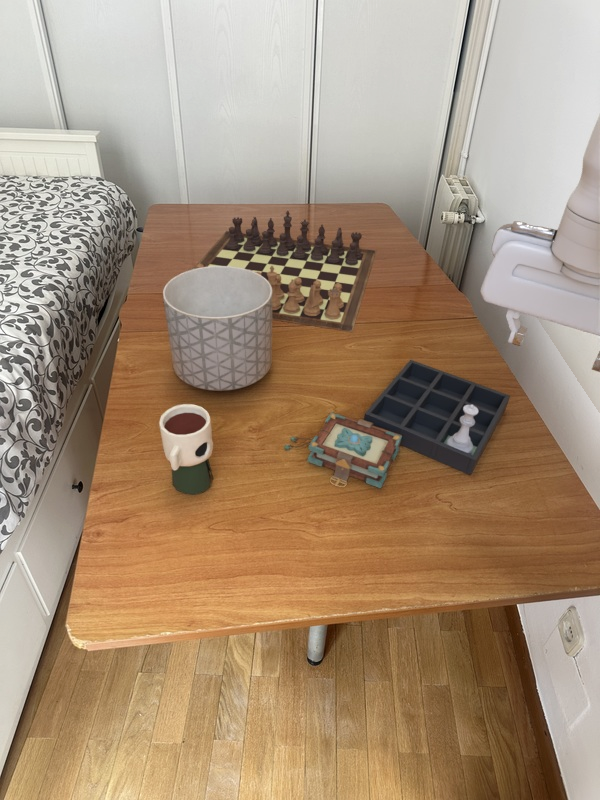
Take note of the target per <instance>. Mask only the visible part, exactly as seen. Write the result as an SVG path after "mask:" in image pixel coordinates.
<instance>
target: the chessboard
mask: <svg viewBox="0 0 600 800" xmlns="http://www.w3.org/2000/svg"><path fill="white" fill-rule="evenodd" d="M290 213H291V212H290V211H289V210H286V212H285V214H286V215H285V216H283V221H284V223H283V224H282V226H283V228H284V232H282V233H280V234H279V237H276V236H274V233H275V232H276V230H275V229H274V228H275V227H274V226H275V223H274V221H273V220H272V219H273V218H272V217H270V218H269V220H268V222H267V227H268V228H267V229H266V230H264V231H263V232H261V233H260V231H259V230H260V229H259V225H258V219H257V217H256V216H254V217H253V219H252V220H251V223H250V226H251V228H247V229H246V230H245V233H244V232H242V224H243V218H242V217H239V216H238V217H233V218H232V224H233V226H230V227H228V230H226V231H225V232H224V233H223V234H222V235H221V237H219V239H218V240H217V241H216V242H215V243H214V244H213V245H212V246H211V248H210V249H209V250H208V251H207V252H206V253H205V254H204V256H203V257H201V259H200V260H199V261H198V262H197V263H196V265H195V266H194V267H193V268H188V269H186V270H185V272H186V271H189V270H193V269H197V268H202V267H210V266H230V267H238V268H243V269H247V270H250V271H253V272H255V273H257V274H259V275H261V276H263V277H264V278H265V279H266V280H267V281H268V282H269V283H270V285H271V287H272V321H278V322H284V323H291V324H297V325H304V326H311V327H317V328H323V329H330V330H336V331H341V332H343V331H344V332H349V333H353V332H354V328H355V324H356V322H357V318H358V314H359V311H360V308H361V304H362V301H363V298H364V294H365V292H366V291H365V290H366V287H367V284H368V281H369V277H370V274H371V271H372V266H373V264H374V261H375V257H376V254H377V250H375V249H367V248H360V241H361V239H362V236H363V235H362V233H361V232H357V231H355V232H354V231H353V232H352V233H350V237H351V243H349V246H344V241H343V232H342V227H338V230H337V232H336V236H335V239H334V240H332V241H331V244H329V243H325V241H324V240H325V239H326V236H325V232H326V230H325V229H326V228H325V227H324V224H323V223H322V224H320V227H319V228H318V235H317V236H316V238H315V239H314V242H313V241H309V240H308V232H309V231H310V229H309V228H308V226H309V225H310V222H309V221H307V219H306V218H305V219H303V221H301V222H299V223H300V225H301V227H300V228H299V231H300V232H301V235H298V236H297V237H296V239H293V238H292V236H291V228H292V227H293V225H292V223H291V222H292V219H293V218H292V216H290ZM162 303H163V304H164V301H163V302H162Z"/></svg>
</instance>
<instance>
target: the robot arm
mask: <svg viewBox="0 0 600 800" xmlns="http://www.w3.org/2000/svg"><path fill="white" fill-rule="evenodd" d="M596 119H597V120H596V121H595V124H594V127H593V129H592V132H591V134H590V137H589V140H588V143H587V144H586V148H585V151H584V154H583V157H582V168H581V175H580V178H579V181H578V183H577V184H576V187H575V189H574V190H573V191H572V193H571V194H570V195H569V198H568V199H567V201H566V205H565V208H564V211H563V214H562V216H561V219H560V222H559V225H558V228H557V229H554V228H550V227H547V226H546V227H545V226H539V225H532V224H528V223H526V222H524V221H513V222H512V223H506V224H503V225H502V226H500V227H498V229H497V230H496V232H495V234H494V235H493V241H492V243H491V253H492V255H493V259H492V260H491V262H490V265H489V267H488V269H487V271H486V272H485V276H484V279H483V281H482V284H481V286H480V295H481V297H482V299H483V302H485V303H488V304H491V305H495V306H498V307H501V308H505V309H507V311H506V315H505V318H506V322H507V325H508V327H509V330H510V334H509V337H508V340H507V343H509V344H511V345H515V346H517V347H521V345H522V344H523V342H524V340H525V337H526V334H527V331H528V327H524V326H522V324H521V321H520V317H521V315H522V314H525V315H528V316H531V317H535V318H539V319H541V320H545V321H548V322H552V323H555V324H557V325H561V326H565V327H568V328H572V329H575V330H578V331H582V332H585V333H587V334H590V335H591V334H592V335H595V336H598V337H600V114H599V115H598V117H597V118H596ZM591 370H592V371H595V372H598V373H600V350H599V352H598V353H597V356H596V358H595V360H594V362H593V365H592V368H591Z"/></svg>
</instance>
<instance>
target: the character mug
mask: <svg viewBox="0 0 600 800" xmlns="http://www.w3.org/2000/svg"><path fill="white" fill-rule="evenodd" d="M158 424H159V425H158V426H159V431H160V437H161V443H162V448H163V452H164V455H165V458H166V460H167V461H168V462H170V467H171V480H172V481H171V483H172V487H174V488H175V490H176V491H178V492H179V493H183V494H186V495H194V496H195V495H198V494H202V493H204V492H205V491H207V490H208V489H209V488H210V487H211V480H212V481H213V480H214V475H213V471H212V465H211V463H210V458H211V456H212V453H213V449H214V441H213V438H212V436H213V435H212V429H213V427H212V420H211V416H210V414H209V411H207V410H206V409H205V408H203V407H202V406H200V405H196V404H194V403H193V404H191V403H183V404H182V403H181V404H177V405H174V406H172V407H170V408H168V409H167V410H165V411H164V412H163V413H162V414H161V416H160V418H159V422H158ZM210 476H211V477H210ZM210 478H211V480H210Z"/></svg>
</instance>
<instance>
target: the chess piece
mask: <svg viewBox="0 0 600 800" xmlns="http://www.w3.org/2000/svg"><path fill="white" fill-rule="evenodd" d="M463 411H464V413H465V415H464V416H462V417H461V418H460V423H461V424H462V426H461V428H460V430H459V432H458V433H455V434H454V436H451V437H450V438H449V439H448V440H447V443H446V444H447V445H449V446H452V447H454V448H457V449H459V450H461V451H464V452H466V453H469V454H472V450H473V444H472V442H471V439H470V437H469V428H470V427H472V426H473V425H474V424H475V420H474V419H473V416H475V415H477V414H478V409H477V408H476V407H475V406H474V405H465V406H464V407H463Z"/></svg>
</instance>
